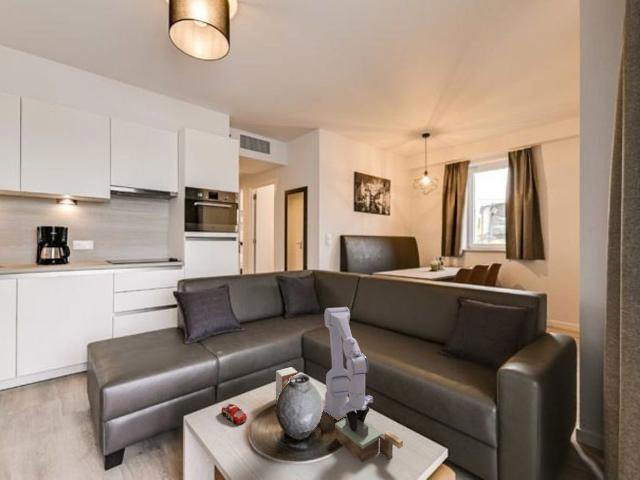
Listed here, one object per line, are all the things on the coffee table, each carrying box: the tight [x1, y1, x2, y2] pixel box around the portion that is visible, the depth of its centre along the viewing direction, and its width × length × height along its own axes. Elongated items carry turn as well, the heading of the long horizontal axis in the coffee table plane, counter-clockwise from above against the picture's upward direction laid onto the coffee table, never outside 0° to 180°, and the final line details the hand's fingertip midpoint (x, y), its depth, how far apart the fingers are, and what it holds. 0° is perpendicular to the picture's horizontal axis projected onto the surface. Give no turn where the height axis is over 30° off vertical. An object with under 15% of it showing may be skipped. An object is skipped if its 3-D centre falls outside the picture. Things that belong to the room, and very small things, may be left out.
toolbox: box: [334, 427, 394, 463], centre depth 107 cm, size 18×10×6 cm, turn 37°
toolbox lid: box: [334, 416, 384, 449], centre depth 108 cm, size 14×10×5 cm
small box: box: [275, 366, 299, 400], centre depth 137 cm, size 8×6×13 cm
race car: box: [221, 403, 248, 426], centre depth 124 cm, size 13×5×4 cm, turn 48°
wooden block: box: [384, 430, 404, 449], centre depth 101 cm, size 6×2×2 cm, turn 37°
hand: (356, 428), depth 108 cm, fingers open, 3 cm apart
